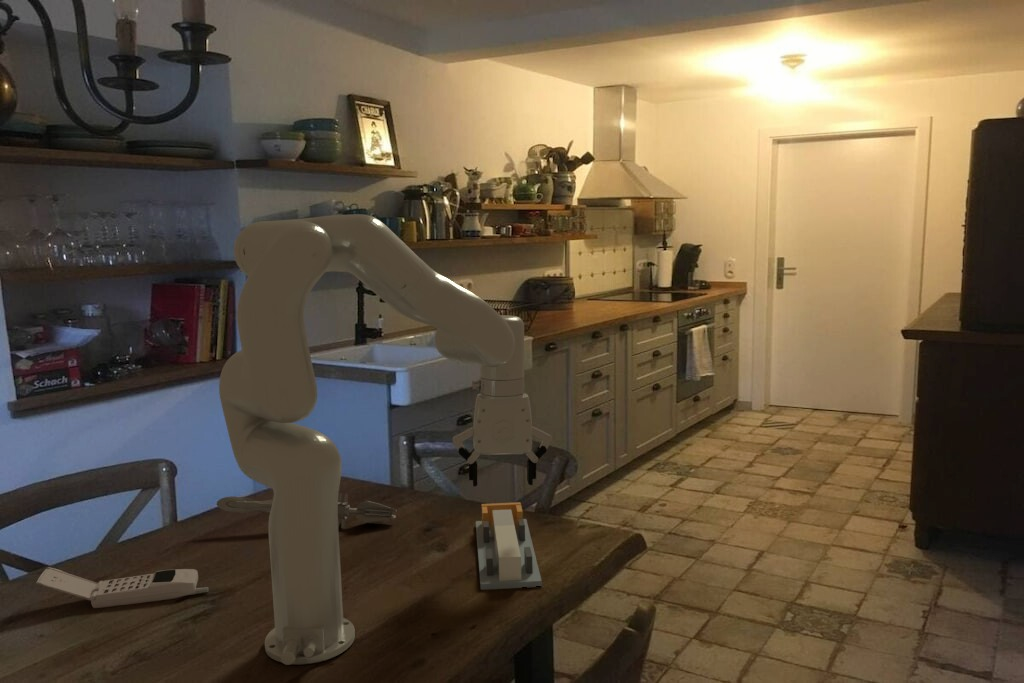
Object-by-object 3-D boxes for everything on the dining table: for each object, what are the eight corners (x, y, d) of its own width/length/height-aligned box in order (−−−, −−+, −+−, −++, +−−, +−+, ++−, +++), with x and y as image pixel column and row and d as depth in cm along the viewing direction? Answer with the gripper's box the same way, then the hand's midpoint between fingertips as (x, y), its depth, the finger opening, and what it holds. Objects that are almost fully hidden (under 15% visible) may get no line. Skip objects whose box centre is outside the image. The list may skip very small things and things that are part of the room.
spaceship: (224, 484, 164) (214, 481, 156) (398, 494, 167) (397, 492, 159) (218, 524, 162) (208, 523, 155) (395, 534, 165) (393, 534, 157)
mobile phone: (44, 566, 131) (208, 547, 137) (49, 601, 132) (211, 580, 138) (33, 583, 126) (204, 562, 132) (37, 619, 127) (207, 596, 133)
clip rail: (541, 586, 133) (541, 557, 133) (480, 589, 133) (480, 560, 132) (526, 523, 161) (525, 499, 160) (475, 526, 160) (475, 501, 159)
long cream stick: (521, 579, 134) (520, 556, 133) (499, 580, 134) (498, 557, 133) (511, 529, 155) (511, 509, 155) (492, 530, 155) (492, 510, 155)
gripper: (452, 392, 136) (452, 491, 138) (554, 390, 137) (554, 489, 139) (452, 384, 143) (452, 478, 145) (549, 382, 144) (549, 476, 147)
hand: (502, 483), depth 142 cm, fingers open, 9 cm apart
